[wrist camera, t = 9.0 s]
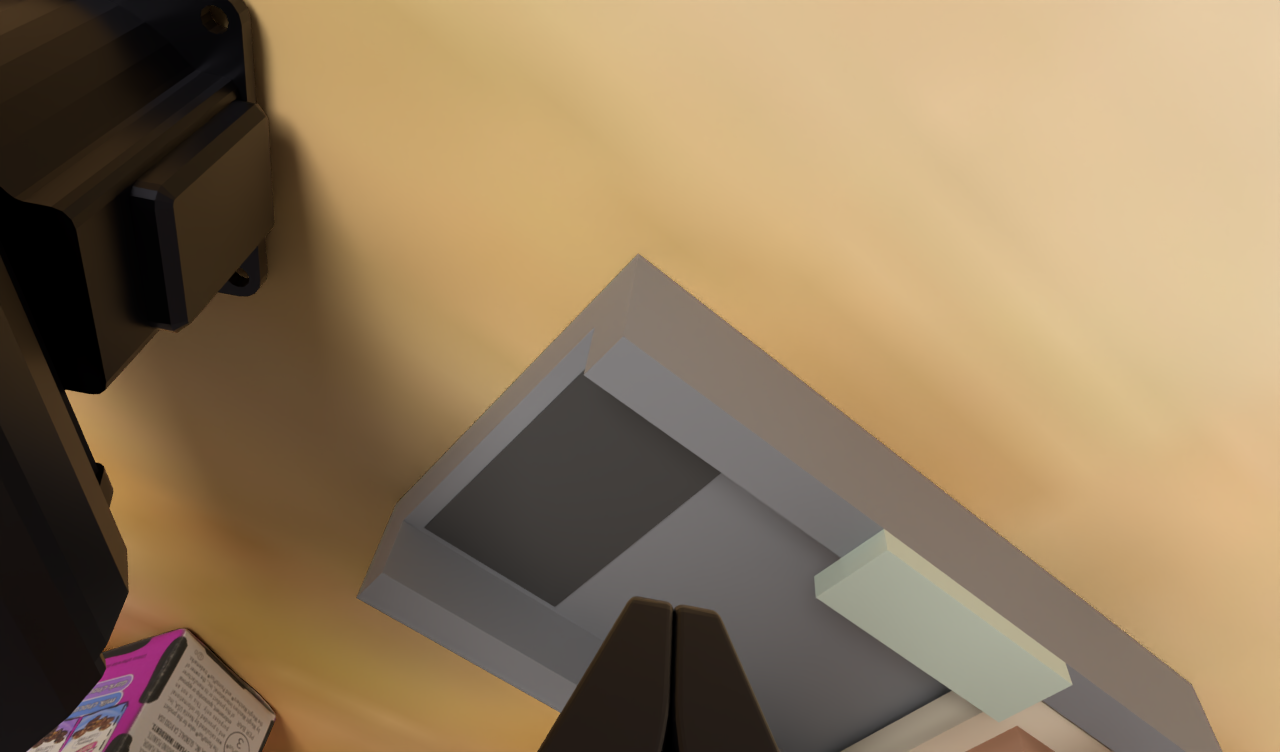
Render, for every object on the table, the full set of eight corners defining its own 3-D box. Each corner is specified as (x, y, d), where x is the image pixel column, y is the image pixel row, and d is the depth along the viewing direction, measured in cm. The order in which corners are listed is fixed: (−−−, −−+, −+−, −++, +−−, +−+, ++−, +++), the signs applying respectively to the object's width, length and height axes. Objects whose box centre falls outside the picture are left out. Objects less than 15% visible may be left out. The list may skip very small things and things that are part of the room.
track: (395, 504, 25) (347, 617, 22) (638, 253, 20) (619, 354, 17) (912, 818, 32) (931, 940, 29) (1192, 684, 27) (1250, 814, 24)
